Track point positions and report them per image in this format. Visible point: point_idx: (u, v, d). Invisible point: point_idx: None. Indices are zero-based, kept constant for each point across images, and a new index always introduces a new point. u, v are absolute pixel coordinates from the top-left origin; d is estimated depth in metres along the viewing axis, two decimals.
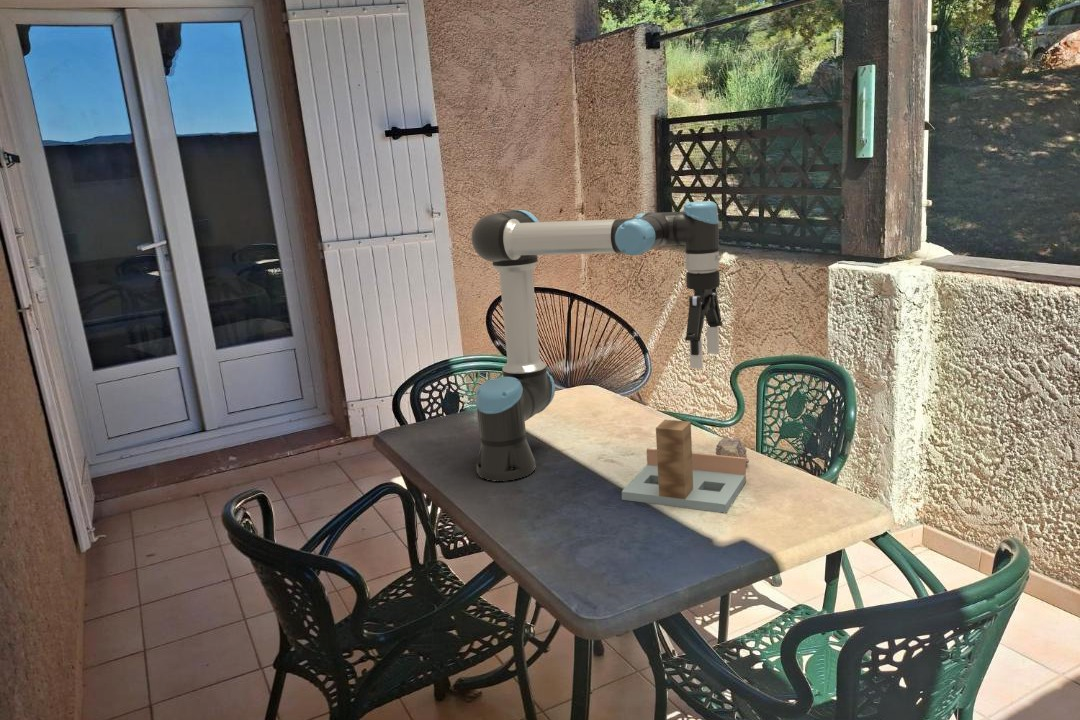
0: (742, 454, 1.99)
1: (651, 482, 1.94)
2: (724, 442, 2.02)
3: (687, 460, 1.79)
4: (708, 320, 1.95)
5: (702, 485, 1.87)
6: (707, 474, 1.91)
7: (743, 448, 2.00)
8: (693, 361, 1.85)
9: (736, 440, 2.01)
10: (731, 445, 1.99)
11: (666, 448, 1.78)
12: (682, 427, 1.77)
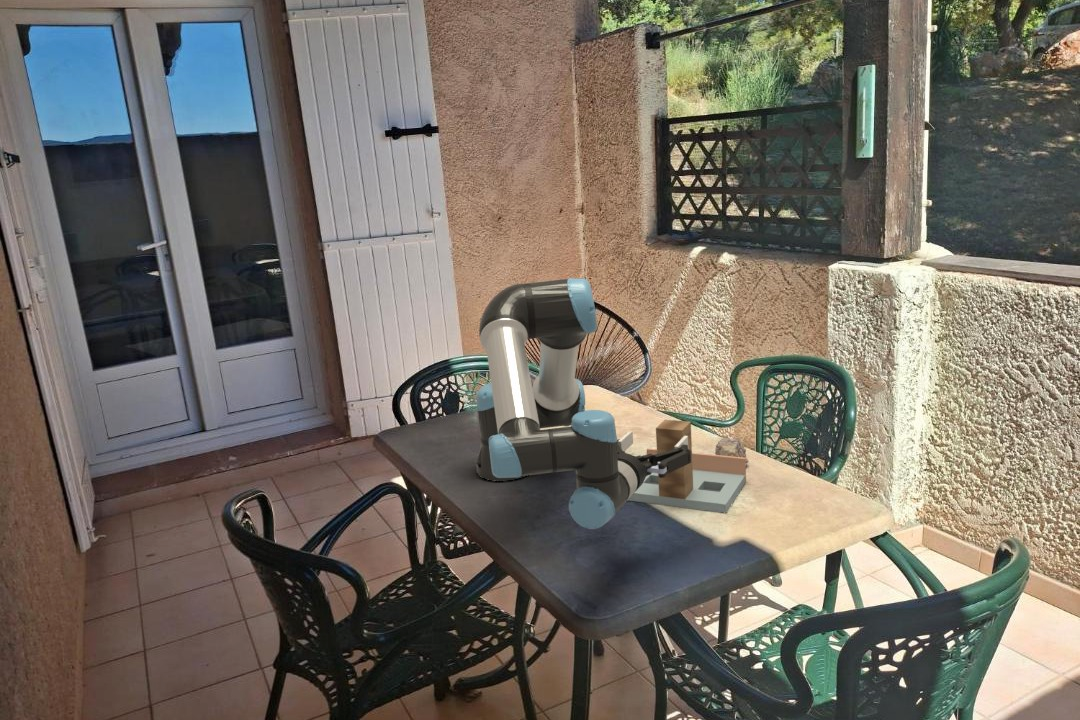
0: (742, 454, 1.99)
1: (651, 482, 1.94)
2: (723, 442, 2.02)
3: None
4: None
5: (702, 485, 1.87)
6: (707, 474, 1.91)
7: (742, 448, 2.00)
8: None
9: (735, 440, 2.01)
10: (731, 445, 1.99)
11: (666, 448, 1.78)
12: (682, 427, 1.77)
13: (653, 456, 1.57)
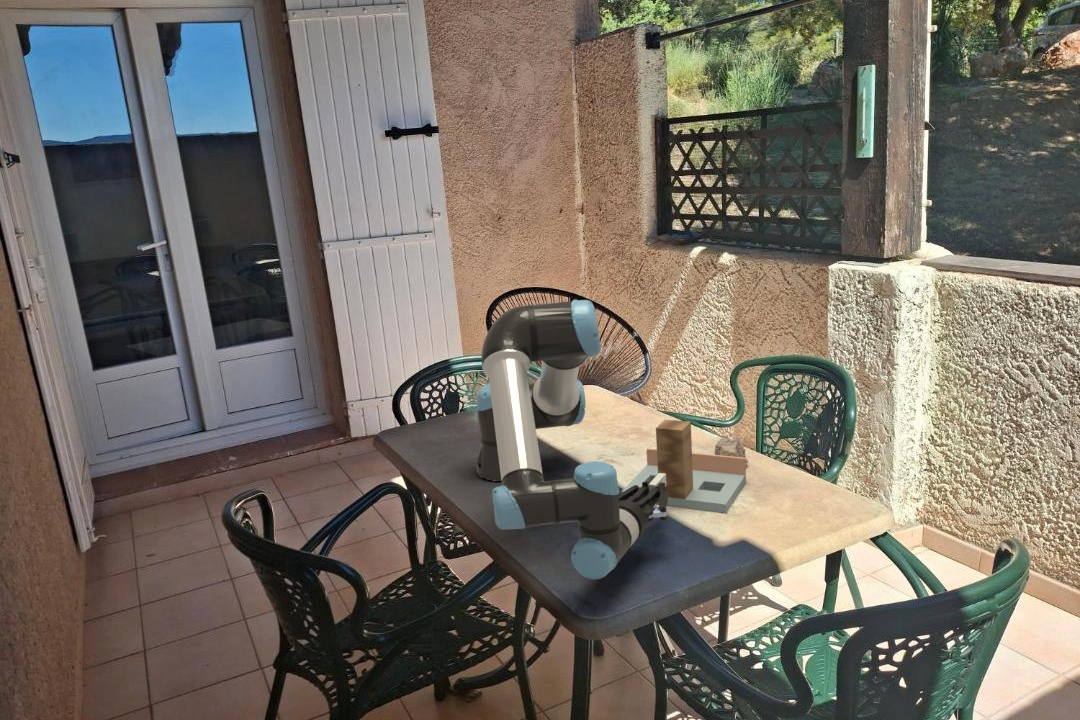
0: (741, 454, 1.99)
1: None
2: (723, 442, 2.02)
3: (687, 460, 1.79)
4: None
5: (702, 485, 1.87)
6: (707, 474, 1.91)
7: (742, 448, 2.00)
8: None
9: (735, 440, 2.01)
10: (730, 445, 1.99)
11: (666, 448, 1.78)
12: (682, 427, 1.77)
13: (648, 499, 1.61)
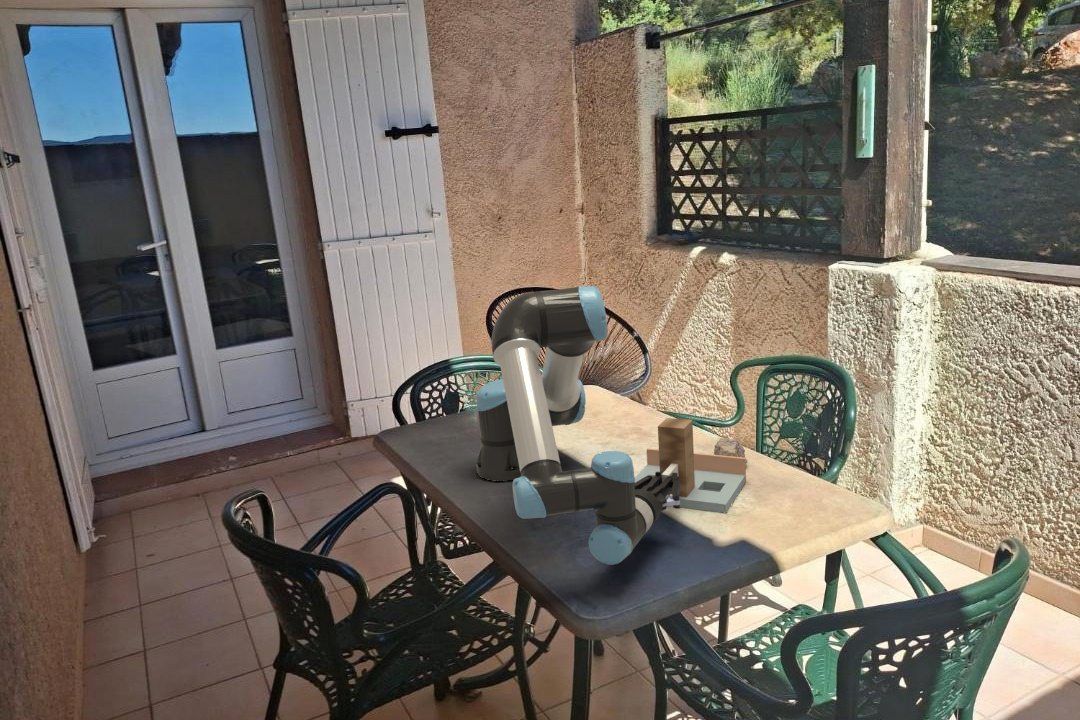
0: (741, 454, 1.99)
1: None
2: (722, 442, 2.02)
3: (689, 458, 1.80)
4: None
5: (702, 485, 1.87)
6: (707, 474, 1.91)
7: (741, 448, 2.00)
8: None
9: (734, 440, 2.01)
10: (730, 445, 1.99)
11: (668, 446, 1.79)
12: (684, 425, 1.78)
13: (661, 488, 1.66)
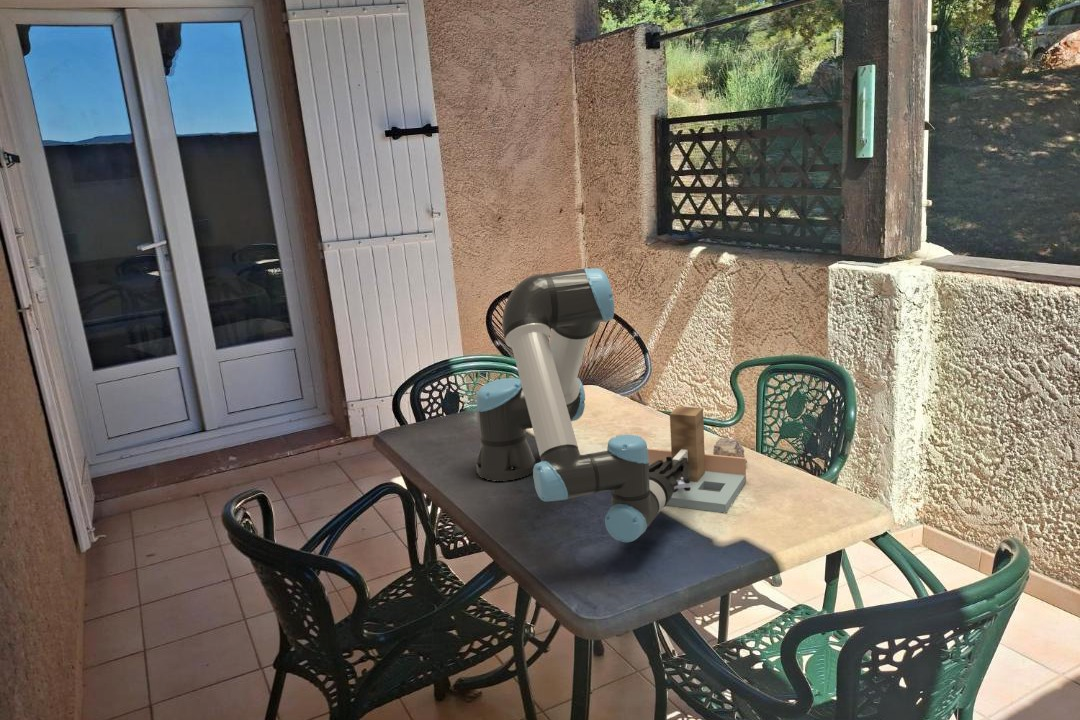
0: (740, 454, 1.99)
1: None
2: (722, 443, 2.02)
3: (700, 444, 1.88)
4: None
5: (702, 485, 1.87)
6: (707, 474, 1.91)
7: (741, 448, 2.00)
8: None
9: (734, 440, 2.01)
10: (729, 445, 1.99)
11: (679, 433, 1.87)
12: (695, 413, 1.85)
13: (672, 472, 1.74)
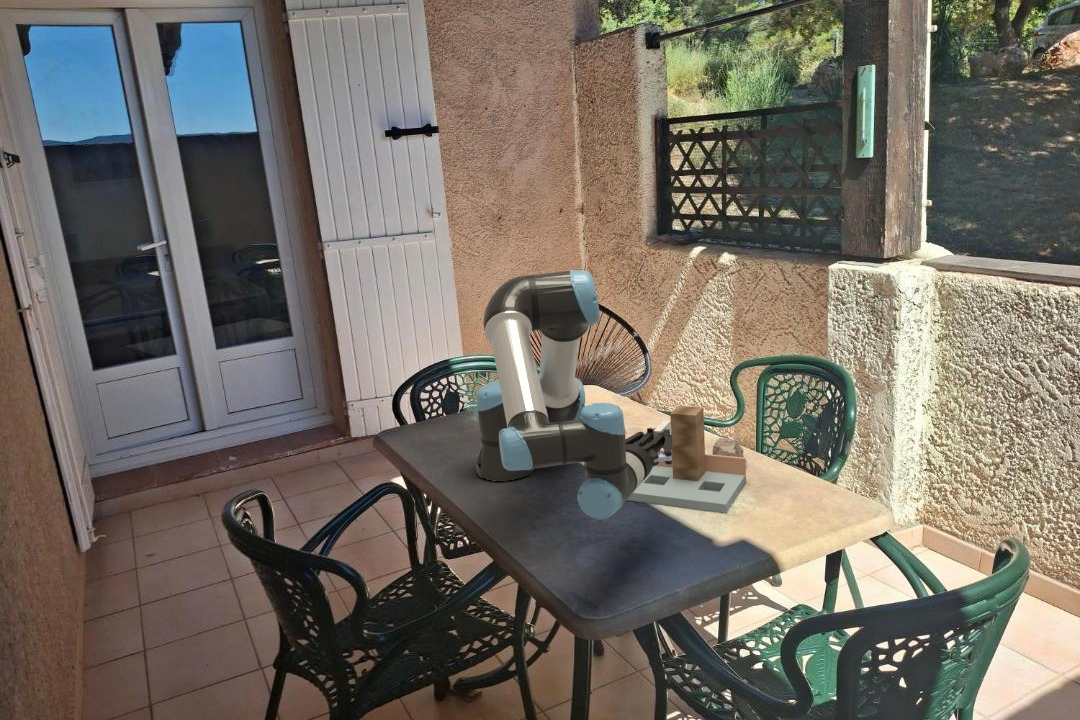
0: (740, 454, 1.99)
1: (651, 482, 1.94)
2: (721, 443, 2.01)
3: (700, 444, 1.88)
4: None
5: (702, 485, 1.87)
6: (707, 474, 1.91)
7: (740, 448, 2.00)
8: None
9: (733, 440, 2.01)
10: (729, 446, 1.99)
11: (680, 432, 1.87)
12: (695, 412, 1.86)
13: (653, 444, 1.61)
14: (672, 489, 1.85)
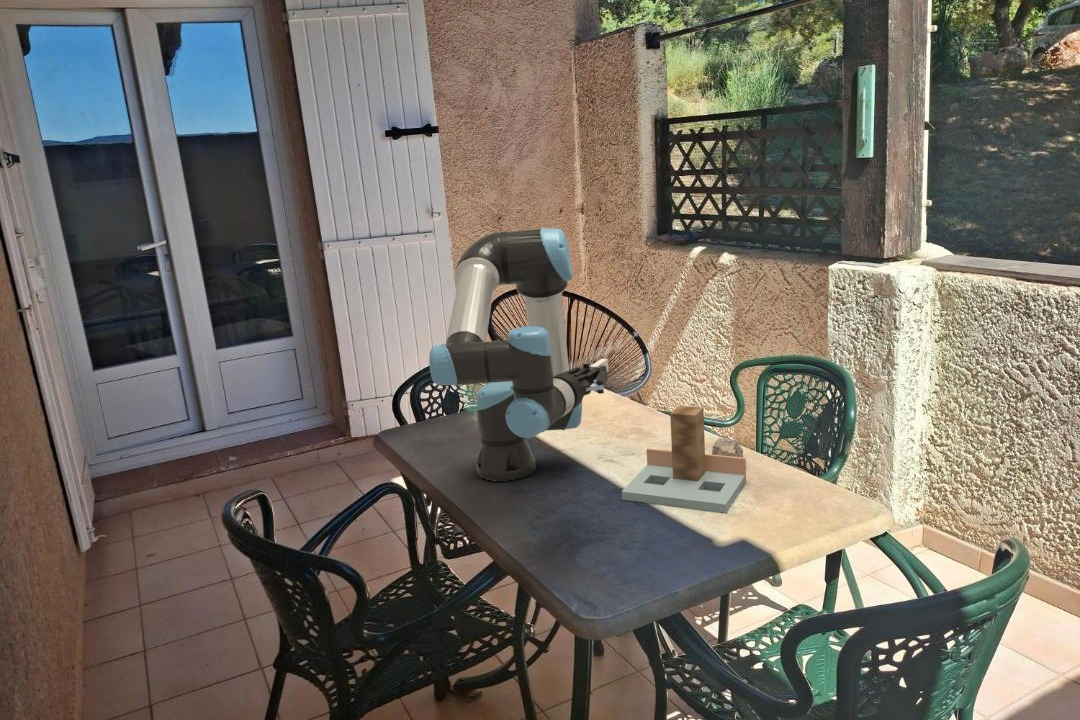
0: (739, 454, 1.99)
1: (651, 482, 1.94)
2: (720, 443, 2.01)
3: (700, 444, 1.88)
4: None
5: (702, 485, 1.87)
6: (707, 474, 1.91)
7: (740, 448, 2.00)
8: None
9: (732, 441, 2.01)
10: (728, 446, 1.99)
11: (680, 432, 1.87)
12: (695, 412, 1.86)
13: (586, 376, 1.66)
14: (672, 489, 1.85)
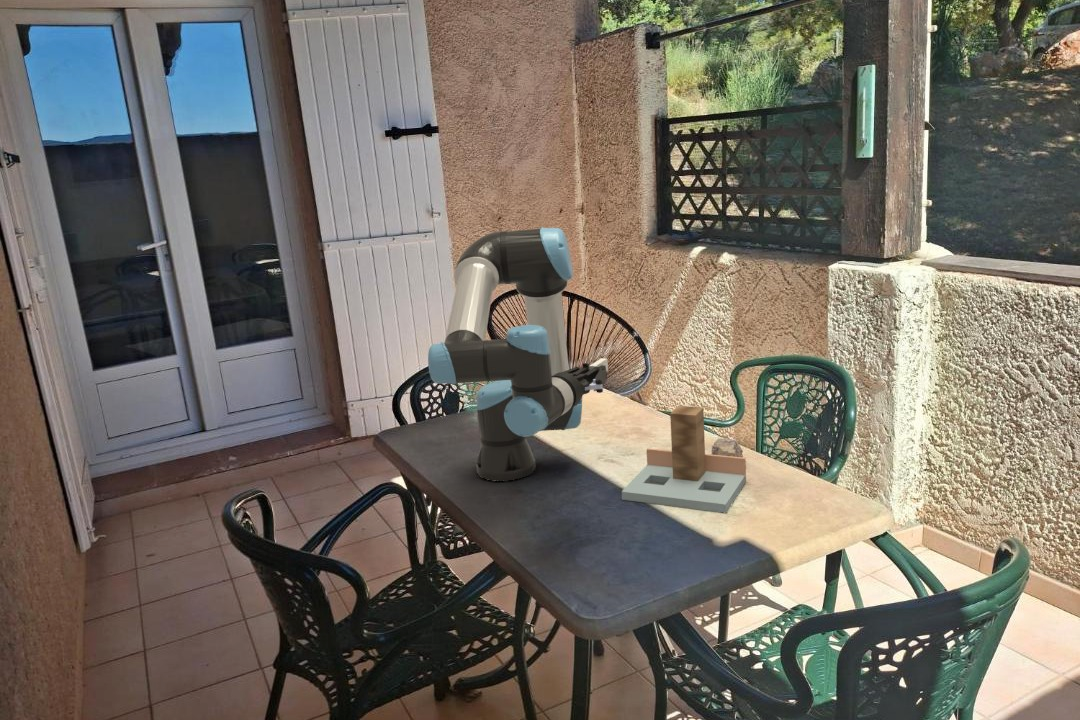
0: (739, 454, 1.99)
1: (651, 482, 1.94)
2: (720, 443, 2.01)
3: (700, 444, 1.88)
4: None
5: (702, 485, 1.87)
6: (707, 474, 1.91)
7: (739, 448, 2.00)
8: None
9: (732, 441, 2.01)
10: (728, 446, 1.99)
11: (680, 432, 1.87)
12: (695, 412, 1.86)
13: (585, 375, 1.66)
14: (672, 489, 1.85)
